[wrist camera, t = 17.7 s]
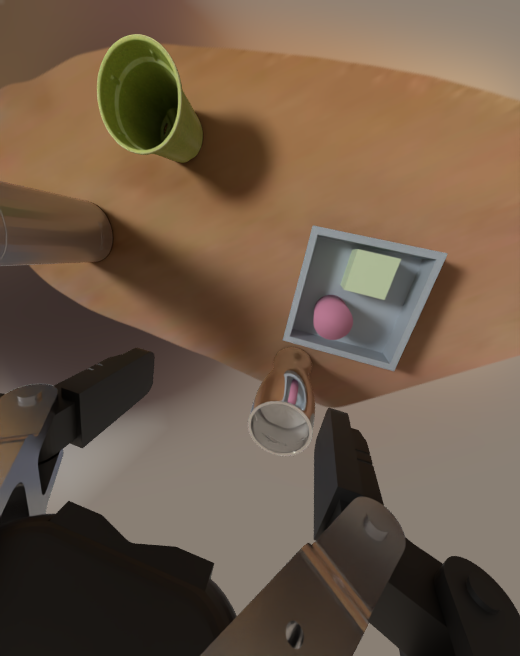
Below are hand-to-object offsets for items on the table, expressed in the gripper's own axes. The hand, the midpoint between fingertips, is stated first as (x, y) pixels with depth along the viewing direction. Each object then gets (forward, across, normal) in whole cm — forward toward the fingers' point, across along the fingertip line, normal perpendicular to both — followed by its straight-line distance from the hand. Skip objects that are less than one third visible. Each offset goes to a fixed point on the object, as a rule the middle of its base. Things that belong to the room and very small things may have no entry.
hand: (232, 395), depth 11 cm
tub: (+26, -8, -2) cm, 27 cm away
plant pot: (+26, +19, -17) cm, 37 cm away
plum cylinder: (+25, -6, 0) cm, 26 cm away
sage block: (+25, -8, -6) cm, 27 cm away
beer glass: (+26, -3, +10) cm, 28 cm away
